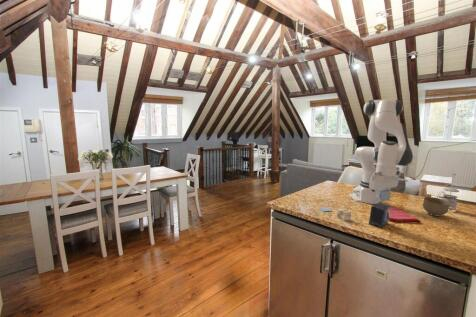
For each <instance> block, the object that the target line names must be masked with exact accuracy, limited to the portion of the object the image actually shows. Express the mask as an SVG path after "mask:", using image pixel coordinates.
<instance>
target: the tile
mask: <svg viewBox="0 0 476 317" xmlns="http://www.w3.org/2000/svg"><path fill="white" fill-rule="evenodd" d="M317 209H319V210H320V211H321V212H322V213H324V212H325V213H327V212H328V213H330V212H331V213H332V212H333V210H332V209H330V208H329V207H327V206H325V207H322V206H319V207H317Z"/></svg>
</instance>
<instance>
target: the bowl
mask: <svg viewBox="0 0 476 317" xmlns="http://www.w3.org/2000/svg"><path fill="white" fill-rule="evenodd" d="M439 198H440V197H438V198H437V197H432V196H424V197H423V202H422V207H423V209H424V210H425V212H426V213H427V214H428V213H429V214H428V215H430V214H432V215H439V216H442V215H445V214H447V213H449V212H448V208H449V205H450V203H449V202H448V201H445V200H442V198H440V199H439ZM432 215H431V216H432Z"/></svg>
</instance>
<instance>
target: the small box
mask: <svg viewBox="0 0 476 317" xmlns="http://www.w3.org/2000/svg"><path fill="white" fill-rule="evenodd" d="M372 205H373V206H372ZM372 205H371V207H370V213H369V219H368V220H369V221H368V224H369V225H371V226H375V227H377V228H383V227H385V226H386V225H388V224H389V220H388V218H389V211H390V207H391V206H390V205H388V204H384V203H382V202H380V203H377V204H372ZM387 223H388V224H387ZM382 226H383V227H382Z"/></svg>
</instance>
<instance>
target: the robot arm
mask: <svg viewBox="0 0 476 317" xmlns="http://www.w3.org/2000/svg"><path fill="white" fill-rule="evenodd" d="M403 109H404V105H403V102H402V100H397V99H386V98H385V99H374V100H373V99H370V100H367V101H365V103H364V105H363V114H364V115H365V116H368V117H370V120H369V124H368V129H367V130H368V131H367V139H368V141H370V142H372V143H373V144H374V146H359V147H357V148H355V151H354V157H355V159H356V160H357V161H358V162H359V164H360V166H361V169H362V178H361V179H362V180H360V182H359V183H360V184H358V185H357V186H356V187H354V188H353V190H352V193H351V192H350V193H349V194H348V196H349V197H351V198H352V199H353V200H354V201H356V202H360V203H364V204H365V203H366V204H369V205H370V204H371V205H375V204H377V203H381V202H382V201H381V200H378V199H376V198H374V196H375V192H376V197H381V194H380V190H381V189H384V190H387V191H390V192H391V189H395V188H397V187H398V185H399V181H400V175H401V171H400V170H398V169H397V166H402V167H406V166H408V165H410V164H411V163H412V162H413V159H414V158H413V157H414V154H413V150H412V148H411V146H410V143H409V139H408V134H407V130H406V128H405V126H404V124H403V123H401V121H399V119H398V118H397V117H399V116H400V115H401V114H402V112H403ZM387 133H389V134H390V135H393V136H395V137H396V140H397V142H396V141H391V140H387ZM375 164H376V166H375Z"/></svg>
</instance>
